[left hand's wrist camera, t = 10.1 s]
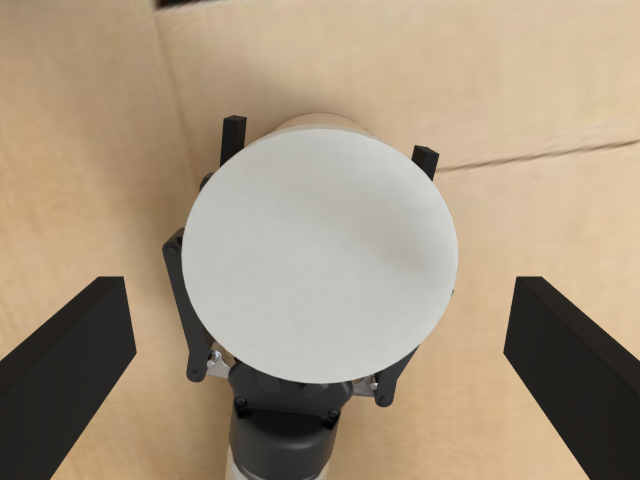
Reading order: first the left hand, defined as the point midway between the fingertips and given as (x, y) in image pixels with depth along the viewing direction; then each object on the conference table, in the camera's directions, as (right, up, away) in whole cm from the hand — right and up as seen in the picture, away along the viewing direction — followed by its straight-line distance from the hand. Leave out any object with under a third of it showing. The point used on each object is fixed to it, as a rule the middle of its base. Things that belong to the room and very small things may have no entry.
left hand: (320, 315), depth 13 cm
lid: (0, +1, +4) cm, 4 cm away
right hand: (+1, +8, +10) cm, 13 cm away
